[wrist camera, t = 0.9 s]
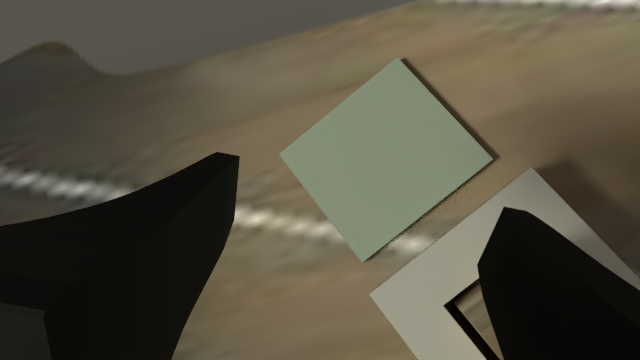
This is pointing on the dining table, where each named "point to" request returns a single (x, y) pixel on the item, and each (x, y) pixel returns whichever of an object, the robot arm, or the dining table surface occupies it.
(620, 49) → the dining table surface
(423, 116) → the mat
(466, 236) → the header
